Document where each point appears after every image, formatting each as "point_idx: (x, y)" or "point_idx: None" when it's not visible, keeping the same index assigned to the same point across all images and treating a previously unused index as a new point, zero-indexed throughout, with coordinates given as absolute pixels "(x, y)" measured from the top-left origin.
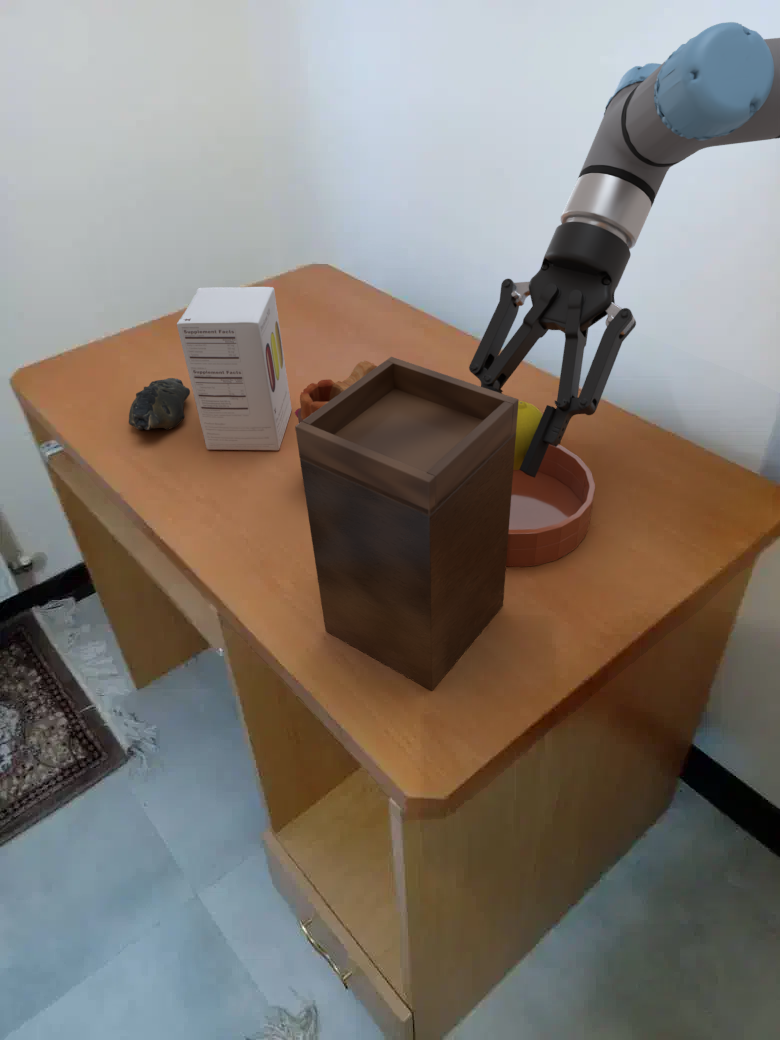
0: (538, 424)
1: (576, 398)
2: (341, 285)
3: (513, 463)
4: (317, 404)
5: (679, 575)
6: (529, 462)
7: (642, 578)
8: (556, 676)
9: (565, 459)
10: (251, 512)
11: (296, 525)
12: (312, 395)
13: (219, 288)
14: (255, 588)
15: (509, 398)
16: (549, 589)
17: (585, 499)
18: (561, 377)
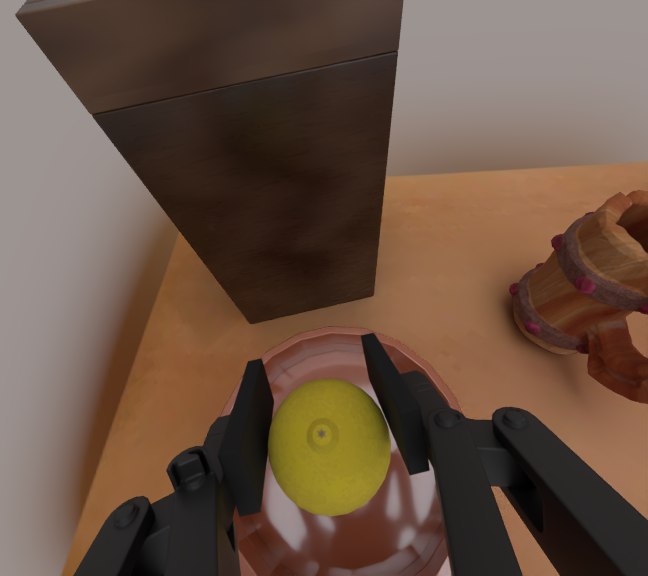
0: (271, 443)
1: (162, 528)
2: None
3: (140, 178)
4: (615, 198)
5: (101, 525)
6: (246, 369)
7: (142, 478)
8: (169, 302)
9: None
10: (531, 228)
11: (484, 249)
12: None
13: None
14: (422, 192)
15: (38, 6)
16: (225, 376)
17: (255, 545)
18: (212, 548)
